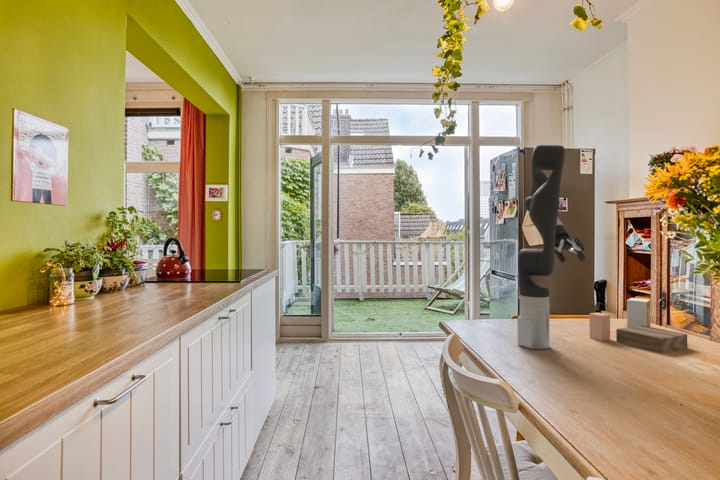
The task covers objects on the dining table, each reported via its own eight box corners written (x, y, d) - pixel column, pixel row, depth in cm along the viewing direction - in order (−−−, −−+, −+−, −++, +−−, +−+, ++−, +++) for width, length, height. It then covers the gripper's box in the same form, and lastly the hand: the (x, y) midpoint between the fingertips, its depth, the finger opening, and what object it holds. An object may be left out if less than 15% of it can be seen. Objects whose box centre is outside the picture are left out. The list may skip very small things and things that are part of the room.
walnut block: (661, 354, 116) (661, 338, 116) (616, 343, 129) (616, 329, 129) (687, 349, 121) (687, 334, 121) (641, 338, 134) (641, 325, 134)
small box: (647, 336, 135) (647, 301, 135) (626, 333, 140) (626, 299, 140) (651, 333, 141) (650, 299, 141) (630, 330, 145) (630, 297, 145)
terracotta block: (601, 340, 130) (601, 315, 130) (589, 337, 134) (589, 313, 134) (610, 339, 132) (609, 314, 132) (597, 336, 136) (597, 312, 136)
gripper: (543, 224, 149) (562, 256, 139) (574, 223, 152) (595, 254, 142) (535, 236, 155) (552, 267, 145) (564, 234, 158) (584, 265, 148)
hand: (573, 260), depth 144 cm, fingers open, 8 cm apart
